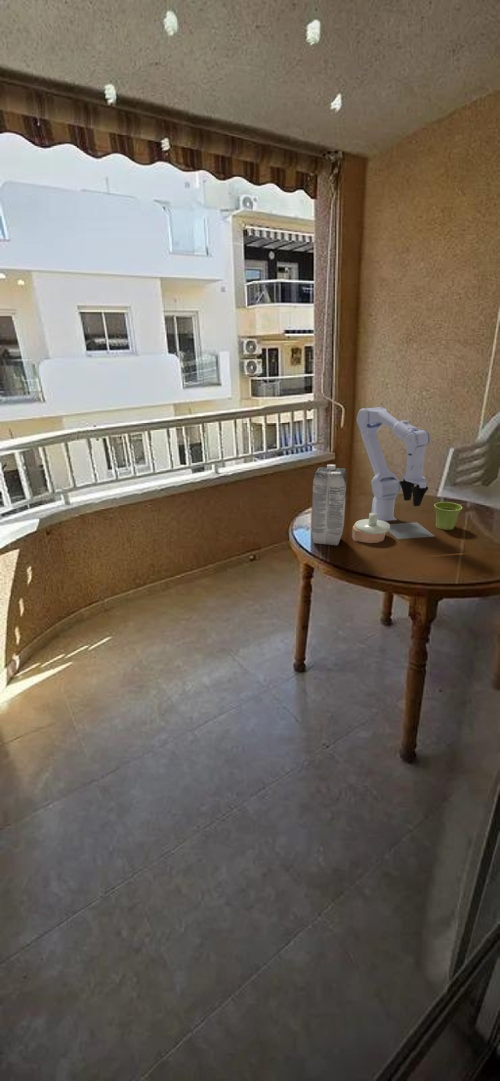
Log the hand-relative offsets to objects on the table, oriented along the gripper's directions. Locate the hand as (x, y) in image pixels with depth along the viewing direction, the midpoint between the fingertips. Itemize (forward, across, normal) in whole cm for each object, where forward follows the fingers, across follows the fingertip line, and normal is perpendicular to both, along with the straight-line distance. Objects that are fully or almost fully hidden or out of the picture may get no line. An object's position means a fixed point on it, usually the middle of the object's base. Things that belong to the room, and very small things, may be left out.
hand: (411, 503), depth 158 cm
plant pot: (+11, 0, -13) cm, 17 cm away
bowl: (+10, -4, +18) cm, 21 cm away
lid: (+6, -5, +16) cm, 18 cm away
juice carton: (+10, -4, +33) cm, 34 cm away
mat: (+10, -1, +2) cm, 11 cm away
